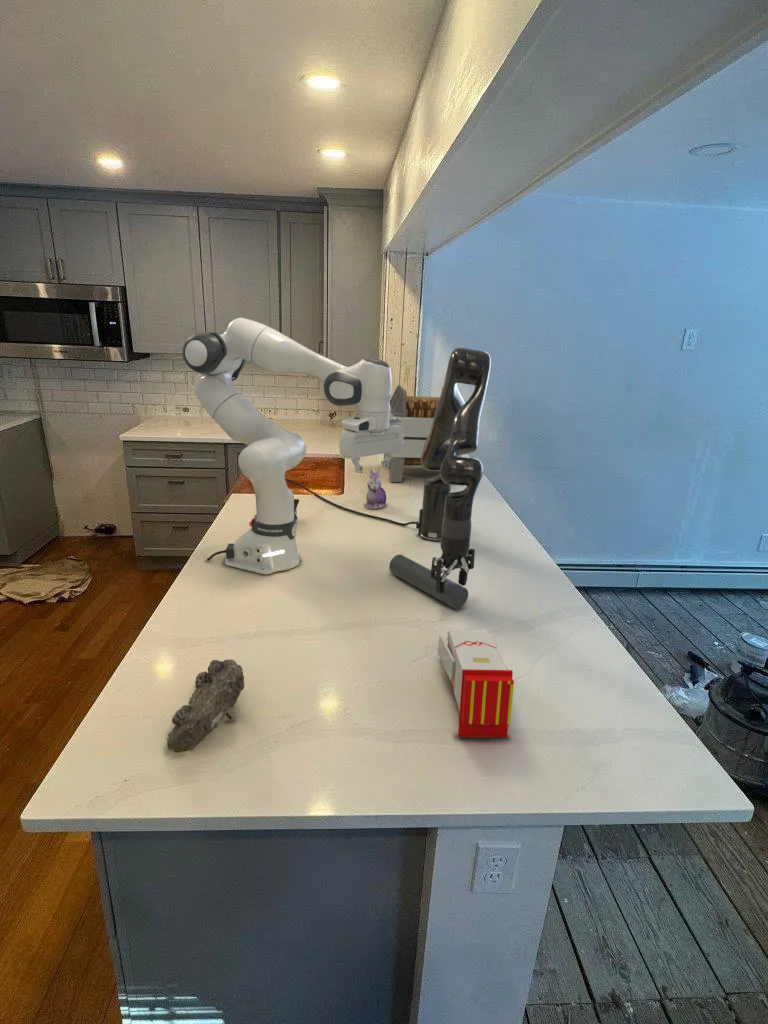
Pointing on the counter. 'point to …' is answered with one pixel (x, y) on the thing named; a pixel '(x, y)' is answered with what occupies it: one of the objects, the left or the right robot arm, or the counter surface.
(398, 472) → the white crate
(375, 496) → the figurine
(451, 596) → the rod
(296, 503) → the figurine character
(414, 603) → the counter surface
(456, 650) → the toy
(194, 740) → the fossil
